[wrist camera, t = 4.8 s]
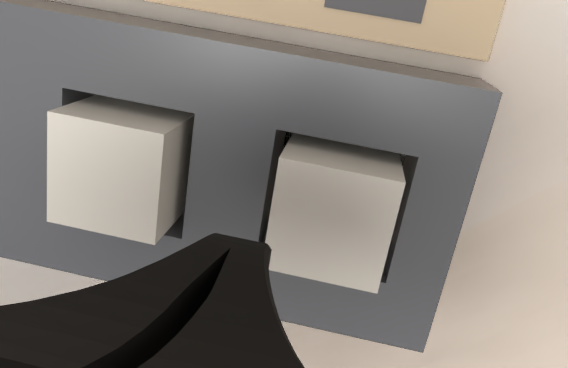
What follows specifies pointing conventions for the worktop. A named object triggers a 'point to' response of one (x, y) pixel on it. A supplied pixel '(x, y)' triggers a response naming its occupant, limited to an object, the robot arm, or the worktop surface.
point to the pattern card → (378, 20)
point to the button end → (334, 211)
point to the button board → (243, 149)
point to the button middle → (118, 167)
